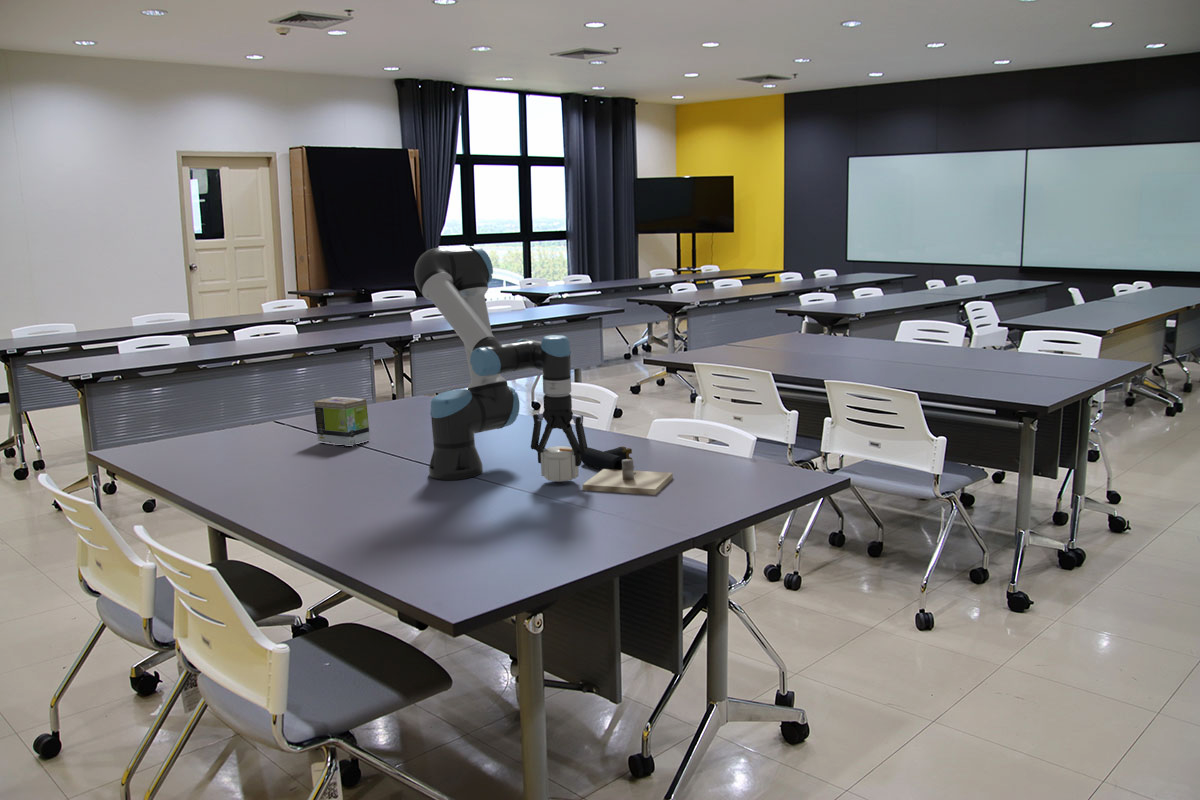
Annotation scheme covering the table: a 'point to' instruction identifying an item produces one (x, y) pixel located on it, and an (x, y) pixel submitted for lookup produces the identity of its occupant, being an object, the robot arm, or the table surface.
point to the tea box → (342, 420)
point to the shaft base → (628, 480)
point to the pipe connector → (606, 458)
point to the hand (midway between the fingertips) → (560, 475)
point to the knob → (558, 463)
